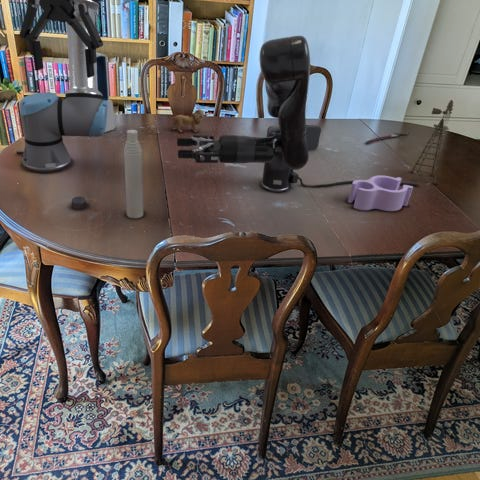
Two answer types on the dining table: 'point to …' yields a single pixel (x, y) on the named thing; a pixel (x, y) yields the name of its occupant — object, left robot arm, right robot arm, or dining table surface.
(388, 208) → the clip
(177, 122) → the lion figurine
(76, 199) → the cap
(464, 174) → the dining table surface
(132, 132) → the bottle
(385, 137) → the sword
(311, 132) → the handheld gaming console
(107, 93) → the electronic device
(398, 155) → the dining table surface
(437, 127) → the miniature windmill
